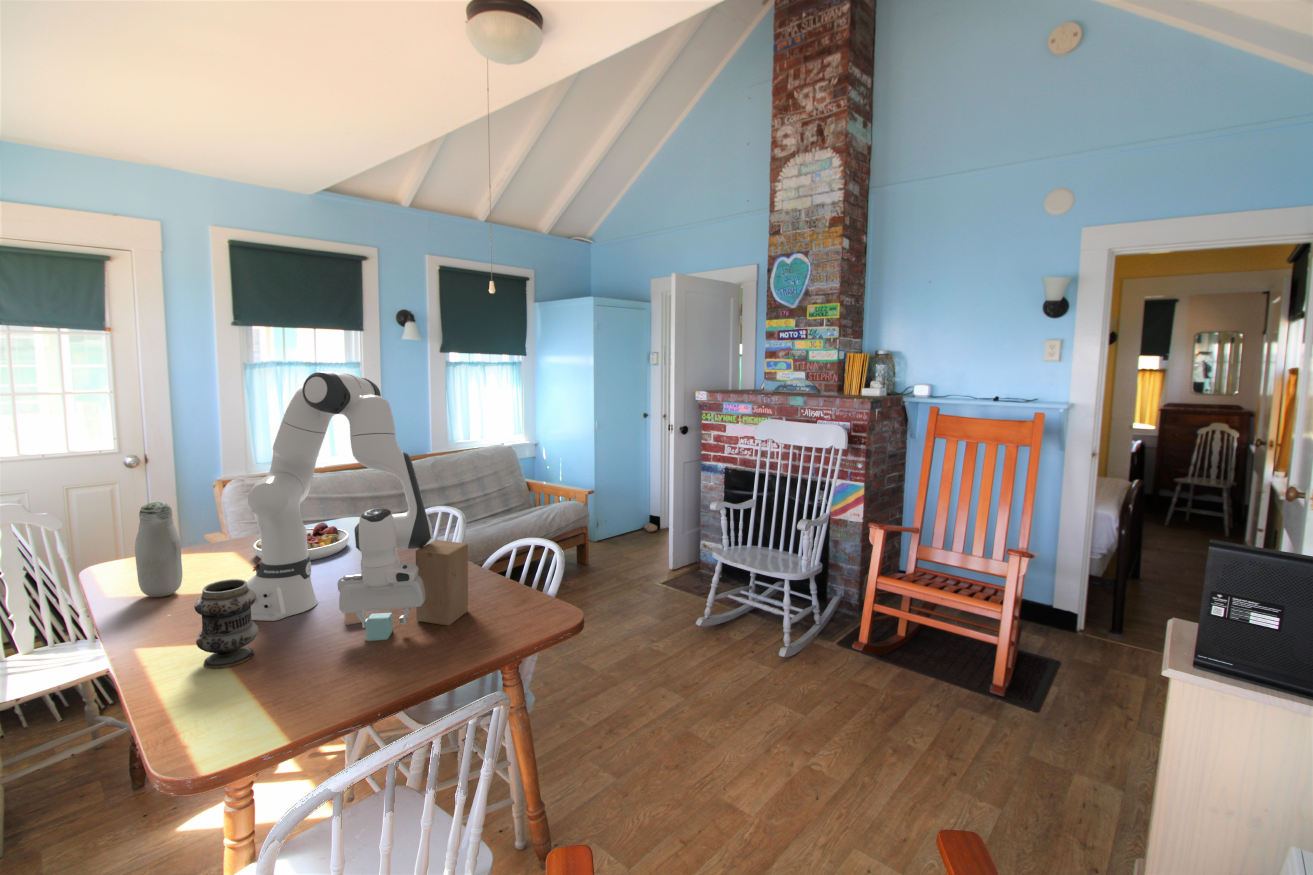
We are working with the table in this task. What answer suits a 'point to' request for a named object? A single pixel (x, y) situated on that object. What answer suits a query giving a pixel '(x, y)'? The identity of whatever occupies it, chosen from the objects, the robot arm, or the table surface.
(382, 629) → the teal cube
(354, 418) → the robot arm
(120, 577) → the table surface
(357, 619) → the clay block
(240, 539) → the table surface
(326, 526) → the bowl
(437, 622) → the wooden block
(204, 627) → the apothecary jar
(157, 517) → the grey rounded bottle
